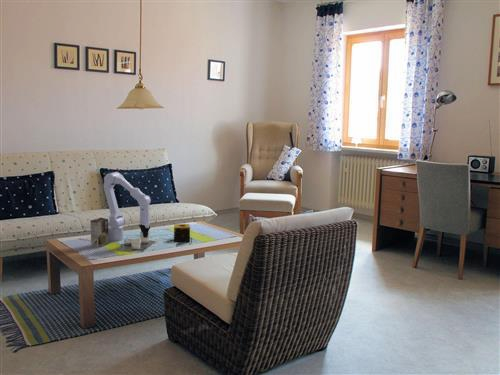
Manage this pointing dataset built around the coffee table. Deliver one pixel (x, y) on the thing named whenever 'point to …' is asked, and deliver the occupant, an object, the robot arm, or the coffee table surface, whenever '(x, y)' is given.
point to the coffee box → (99, 232)
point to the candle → (181, 233)
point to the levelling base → (128, 247)
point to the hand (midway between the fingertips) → (144, 236)
